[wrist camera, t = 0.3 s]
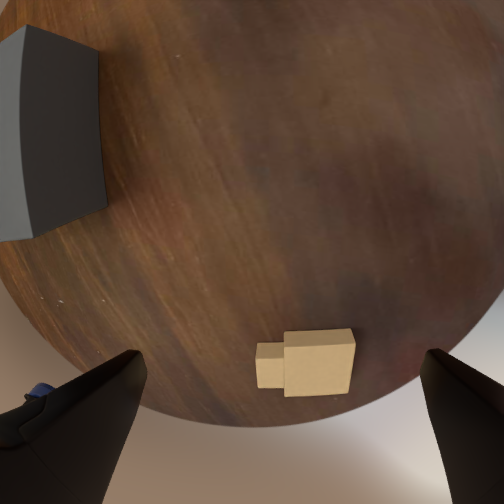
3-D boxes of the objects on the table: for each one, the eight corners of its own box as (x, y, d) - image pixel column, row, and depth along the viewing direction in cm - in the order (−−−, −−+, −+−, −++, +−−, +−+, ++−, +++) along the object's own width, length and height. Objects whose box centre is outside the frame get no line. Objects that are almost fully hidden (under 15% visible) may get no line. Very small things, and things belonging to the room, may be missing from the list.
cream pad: (344, 377, 23) (348, 393, 21) (260, 380, 23) (258, 396, 22) (350, 327, 21) (356, 343, 19) (256, 331, 22) (254, 347, 20)
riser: (108, 206, 20) (33, 238, 12) (1, 223, 21) (-58, 249, 14) (99, 50, 16) (26, 23, 8) (-8, 105, 18) (-70, 108, 10)
